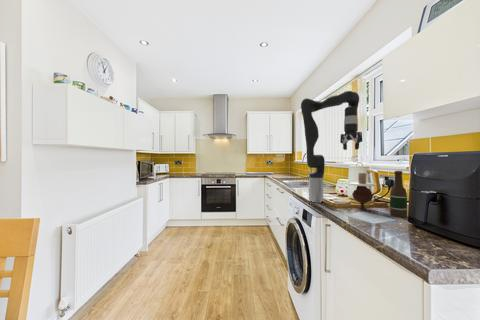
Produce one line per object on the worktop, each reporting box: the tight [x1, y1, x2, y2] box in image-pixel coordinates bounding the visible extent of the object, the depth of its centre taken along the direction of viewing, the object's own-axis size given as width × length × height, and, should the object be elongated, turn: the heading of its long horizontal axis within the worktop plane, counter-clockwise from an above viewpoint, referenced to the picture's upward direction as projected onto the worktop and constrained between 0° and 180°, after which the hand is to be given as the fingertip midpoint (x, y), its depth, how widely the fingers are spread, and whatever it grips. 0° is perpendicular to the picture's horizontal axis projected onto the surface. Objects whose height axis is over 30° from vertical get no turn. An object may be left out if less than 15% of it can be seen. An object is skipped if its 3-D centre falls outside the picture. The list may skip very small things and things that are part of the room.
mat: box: [342, 211, 396, 225], centre depth 112 cm, size 18×16×1 cm
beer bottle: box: [389, 170, 408, 219], centre depth 115 cm, size 8×8×24 cm
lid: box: [348, 172, 377, 187], centre depth 130 cm, size 14×14×7 cm
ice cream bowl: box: [352, 186, 374, 211], centre depth 130 cm, size 11×11×15 cm
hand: (350, 149), depth 137 cm, fingers open, 8 cm apart
